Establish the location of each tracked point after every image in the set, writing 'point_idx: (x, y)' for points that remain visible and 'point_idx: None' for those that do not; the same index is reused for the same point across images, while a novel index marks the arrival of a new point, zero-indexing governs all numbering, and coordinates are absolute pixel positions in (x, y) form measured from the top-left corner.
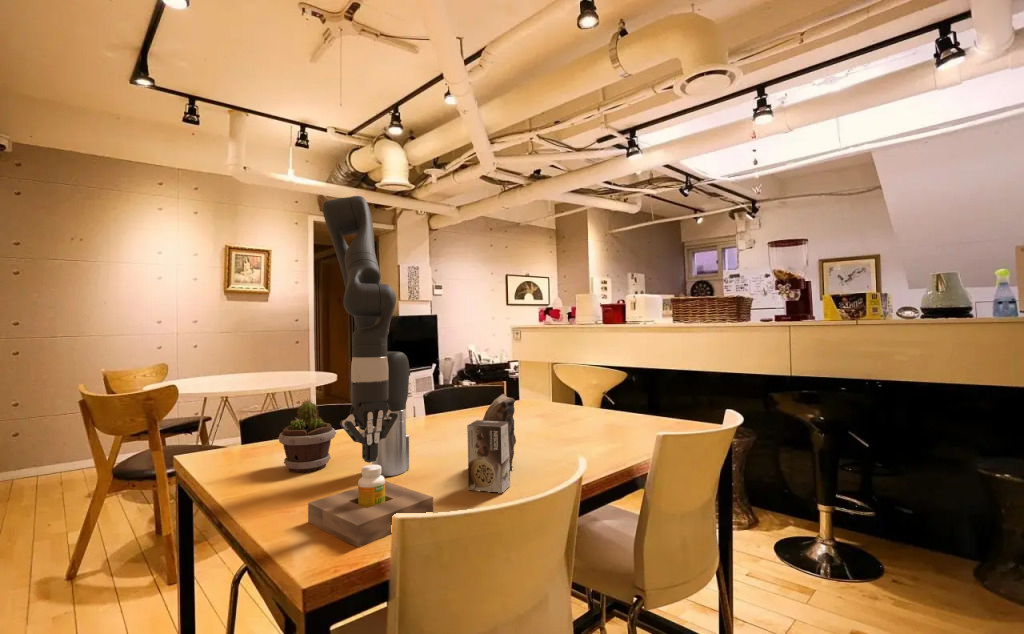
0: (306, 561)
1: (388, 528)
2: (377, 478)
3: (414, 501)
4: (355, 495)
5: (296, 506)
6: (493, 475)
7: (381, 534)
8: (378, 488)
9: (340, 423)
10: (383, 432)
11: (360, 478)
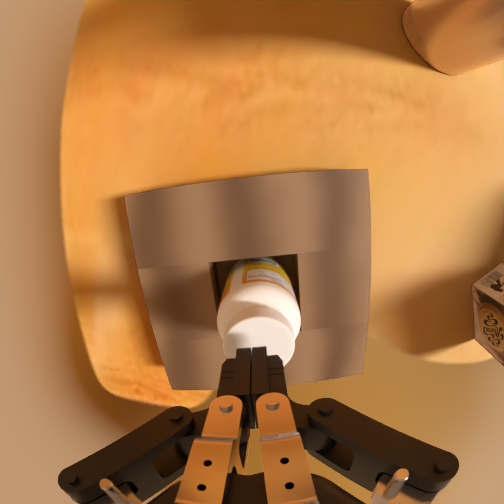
0: (108, 345)
1: None
2: None
3: (320, 372)
4: (241, 235)
5: (162, 74)
6: (491, 343)
7: None
8: None
9: (62, 476)
10: (320, 460)
11: (229, 307)
